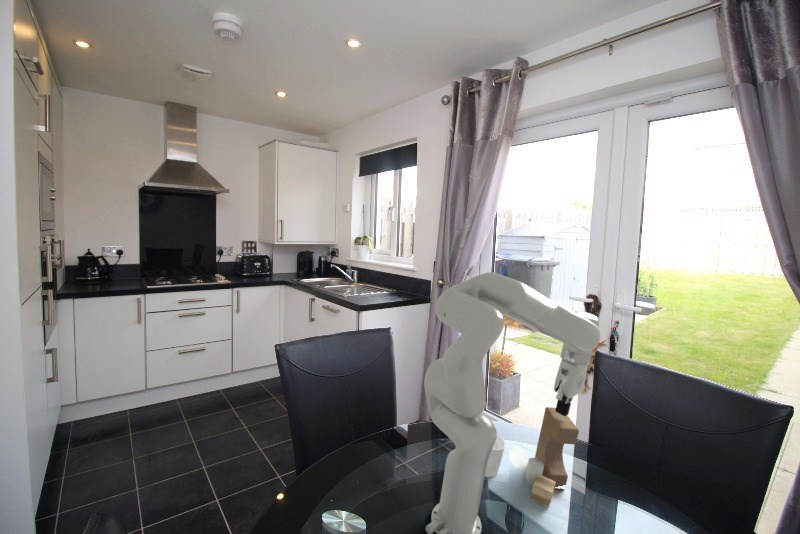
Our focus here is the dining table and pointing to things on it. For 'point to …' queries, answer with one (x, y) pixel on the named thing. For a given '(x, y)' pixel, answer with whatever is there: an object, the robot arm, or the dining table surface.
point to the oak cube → (543, 490)
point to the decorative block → (555, 444)
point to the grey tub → (533, 470)
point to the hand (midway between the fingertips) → (561, 413)
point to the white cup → (495, 458)
